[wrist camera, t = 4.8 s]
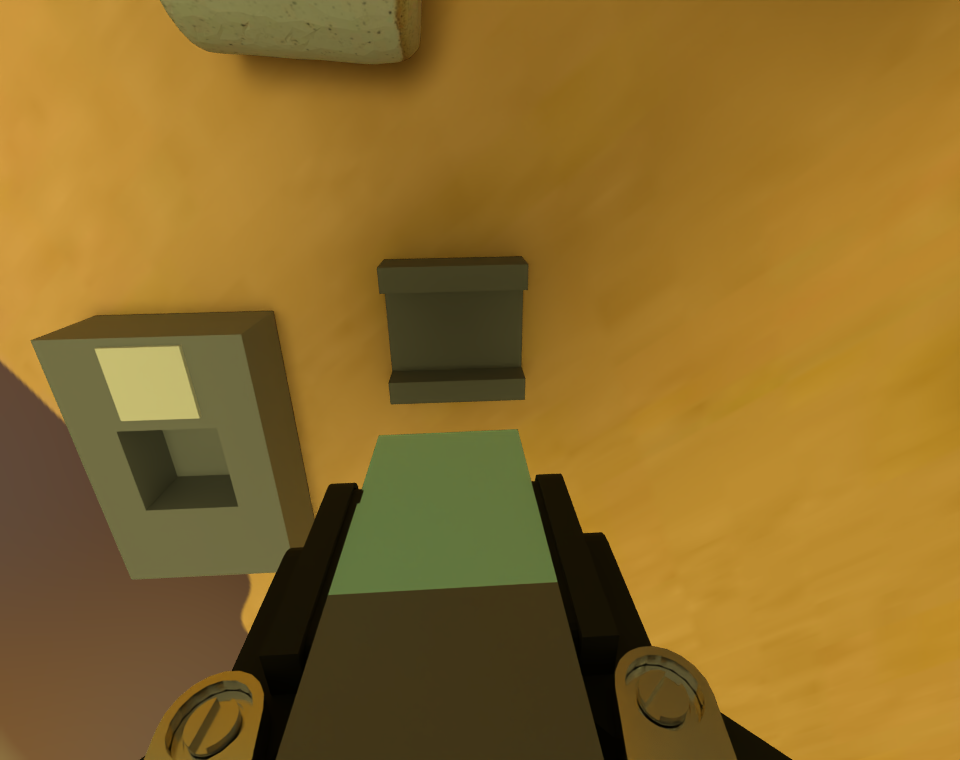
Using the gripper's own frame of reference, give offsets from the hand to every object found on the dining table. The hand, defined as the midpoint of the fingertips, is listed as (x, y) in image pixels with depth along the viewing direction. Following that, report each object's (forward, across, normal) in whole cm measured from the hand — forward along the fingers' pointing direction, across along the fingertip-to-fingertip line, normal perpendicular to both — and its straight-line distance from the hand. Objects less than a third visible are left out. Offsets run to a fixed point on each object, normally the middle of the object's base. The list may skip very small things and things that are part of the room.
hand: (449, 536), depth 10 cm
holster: (+16, 0, 0) cm, 16 cm away
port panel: (+16, +14, +6) cm, 22 cm away
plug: (+2, 0, 0) cm, 2 cm away
